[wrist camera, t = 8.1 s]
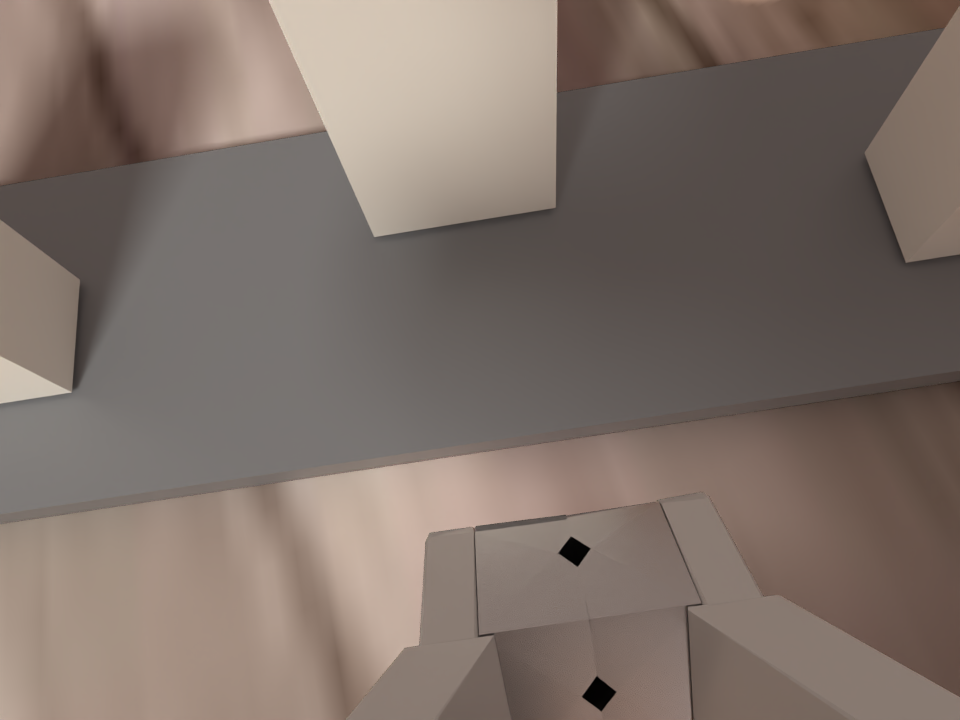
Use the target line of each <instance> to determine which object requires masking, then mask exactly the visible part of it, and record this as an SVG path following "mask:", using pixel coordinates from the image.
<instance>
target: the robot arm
mask: <svg viewBox="0 0 960 720" xmlns="http://www.w3.org/2000/svg"><path fill="white" fill-rule="evenodd" d="M346 720H960V697H959V696H957V695H955V694H953V693H952V692H950V691H948V690H946V689H945V688H943V687H941V686H939V685H937V684H936V683H934V682H932V681H930V680H929V679H927V678H925V677H923V676H922V675H920V674H918V673H916V672H915V671H913V670H911V669H909V668H908V667H906V666H904V665H902V664H900V663H899V662H897V661H895V660H893V659H892V658H890V657H888V656H886V655H885V654H883V653H881V652H879V651H878V650H876V649H874V648H872V647H871V646H869V645H867V644H865V643H863V642H862V641H860V640H858V639H856V638H855V637H853V636H851V635H849V634H848V633H846V632H844V631H842V630H841V629H839V628H837V627H835V626H834V625H832V624H830V623H828V622H826V621H825V620H823V619H821V618H819V617H818V616H816V615H814V614H812V613H811V612H809V611H807V610H805V609H804V608H802V607H800V606H798V605H797V604H795V603H793V602H791V601H789V600H788V599H786V598H784V597H782V596H781V595H772V596H765V597H764V596H763V594H762V592H761V590H760V589H759V587H758V585H757V583H756V581H755V579H754V578H753V576H752V574H751V572H750V570H749V568H748V567H747V565H746V563H745V561H744V559H743V557H742V555H741V554H740V552H739V550H738V548H737V546H736V544H735V543H734V541H733V539H732V537H731V535H730V533H729V532H728V530H727V528H726V526H725V524H724V522H723V521H722V519H721V517H720V515H719V513H718V511H717V510H716V508H715V506H714V504H713V502H712V500H711V498H710V497H709V496H708V495H707V494H705V493H703V492H699V493H694V494H688V495H682V496H677V497H671V498H665V499H660V500H657V502H652V503H645V504H639V505H632V506H626V507H619V508H613V509H606V510H599V511H593V512H586V513H580V514H573V515H567V516H566V515H560V516H552V517H545V518H537V519H529V520H521V521H513V522H505V523H497V524H489V525H481V526H476V528H473V527H467V528H460V529H453V530H446V531H439V532H432V533H429V535H428V537H427V540H426V542H425V559H424V575H423V592H422V609H421V625H420V642H419V646H414V647H407V648H404V650H403V651H402V652H401V653H400V654H399V656H398V657H397V658H396V659H395V660H394V662H393V663H392V664H391V665H390V666H389V668H388V669H387V670H386V671H385V672H384V674H383V675H382V676H381V677H380V679H379V680H378V681H377V682H376V683H375V685H374V686H373V687H372V688H371V689H370V691H369V692H368V693H367V694H366V695H365V697H364V698H363V699H362V700H361V701H360V703H359V704H358V705H357V706H356V708H355V709H354V710H353V711H352V712H351V714H350V715H349V716H348V717H347V718H346Z"/></svg>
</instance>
